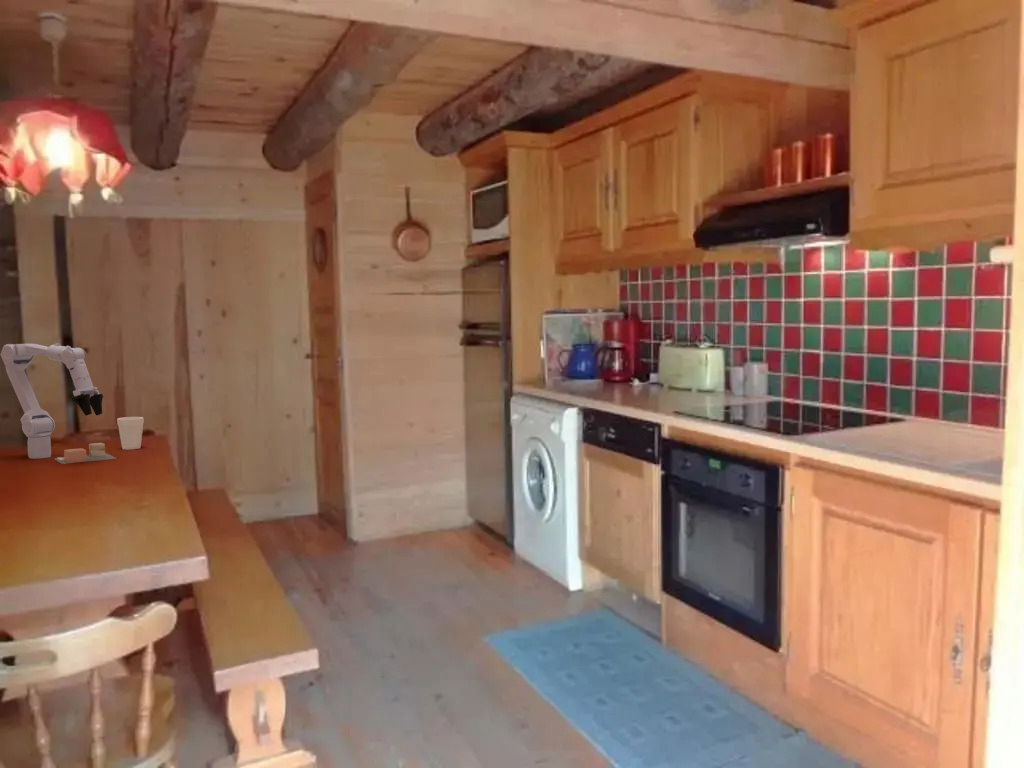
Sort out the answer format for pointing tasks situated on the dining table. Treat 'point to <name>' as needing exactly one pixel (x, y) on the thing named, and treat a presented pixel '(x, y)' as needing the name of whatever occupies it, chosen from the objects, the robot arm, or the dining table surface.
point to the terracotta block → (75, 455)
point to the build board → (91, 458)
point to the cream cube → (96, 449)
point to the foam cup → (130, 431)
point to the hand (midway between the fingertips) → (94, 414)
